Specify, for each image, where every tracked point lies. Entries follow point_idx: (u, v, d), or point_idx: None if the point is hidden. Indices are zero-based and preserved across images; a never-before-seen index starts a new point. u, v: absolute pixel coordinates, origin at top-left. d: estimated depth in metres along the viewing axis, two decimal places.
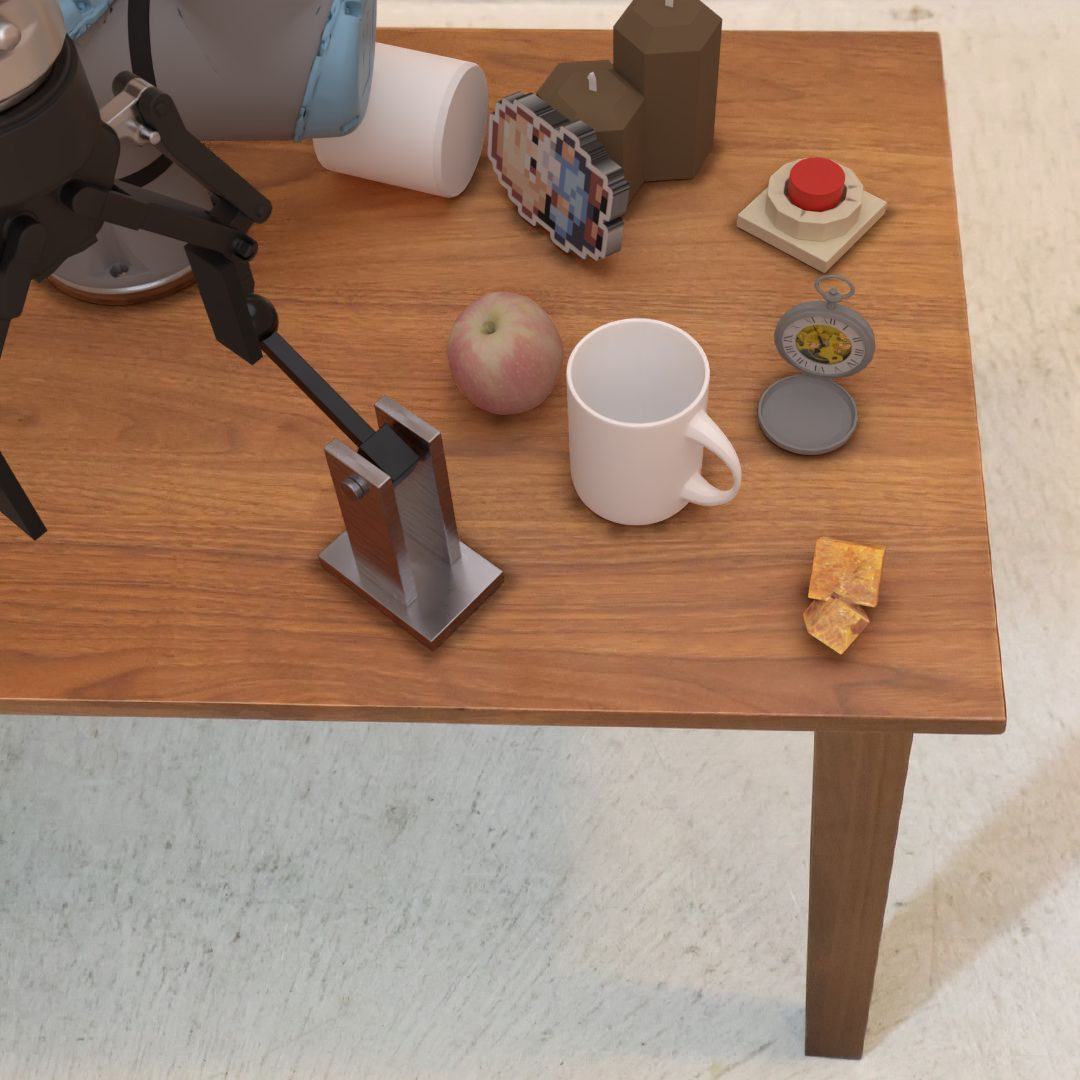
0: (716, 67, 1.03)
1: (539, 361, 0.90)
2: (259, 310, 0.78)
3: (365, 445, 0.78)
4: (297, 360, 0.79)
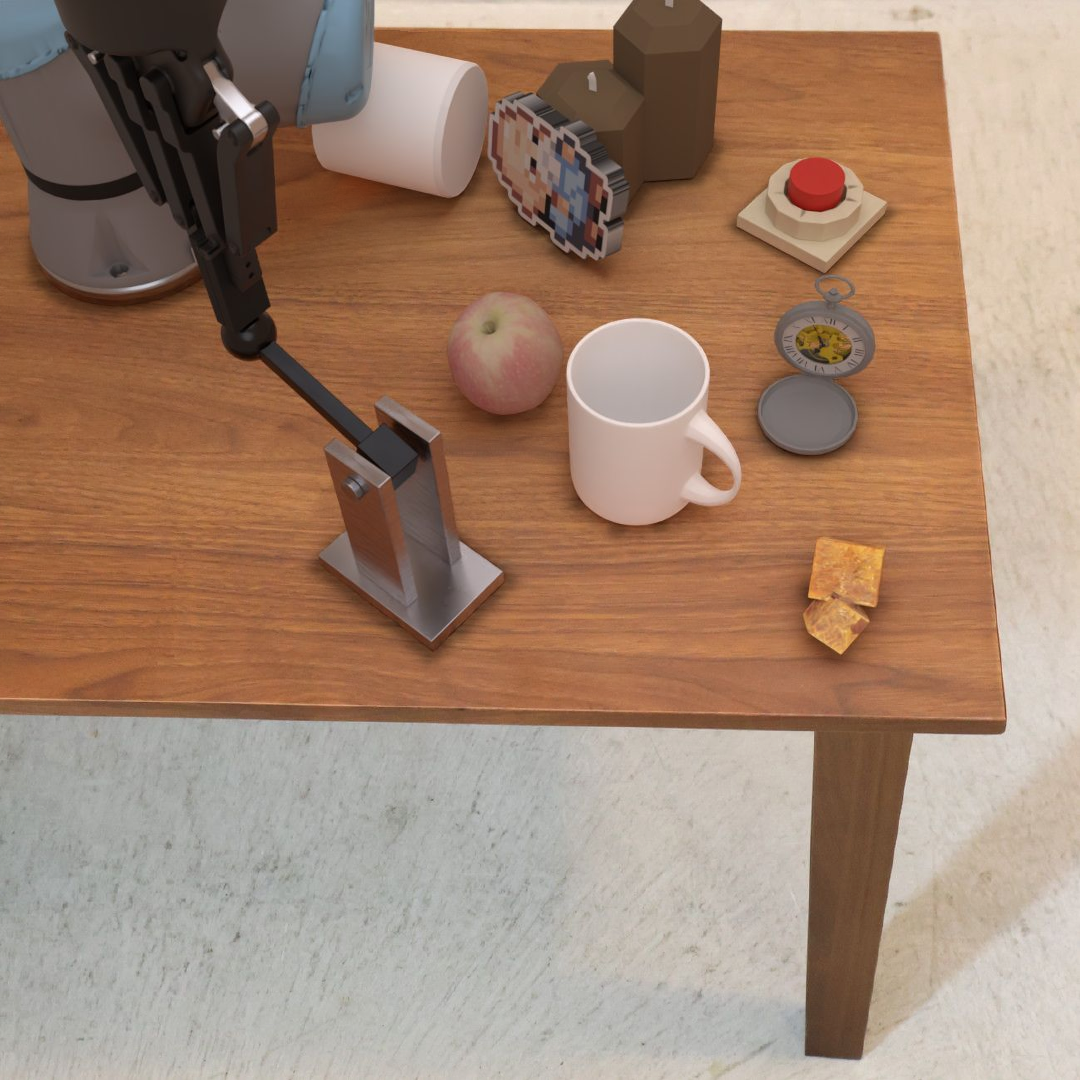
0: (716, 67, 1.03)
1: (539, 361, 0.90)
2: (255, 320, 0.79)
3: (363, 444, 0.78)
4: (295, 367, 0.80)
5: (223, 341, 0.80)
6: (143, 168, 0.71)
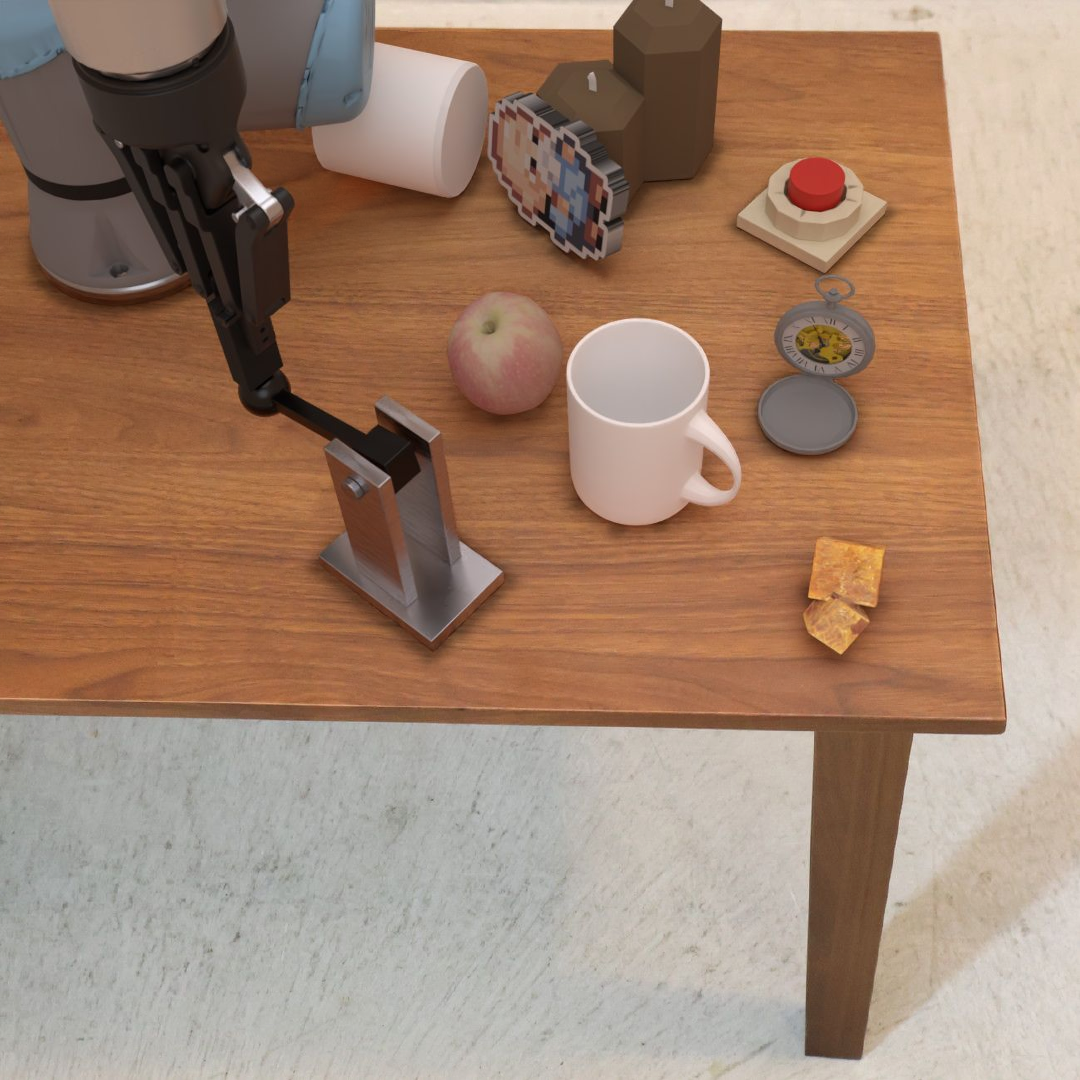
0: (716, 67, 1.03)
1: (539, 361, 0.90)
2: None
3: (356, 445, 0.78)
4: (301, 404, 0.83)
5: (240, 400, 0.84)
6: (165, 241, 0.76)
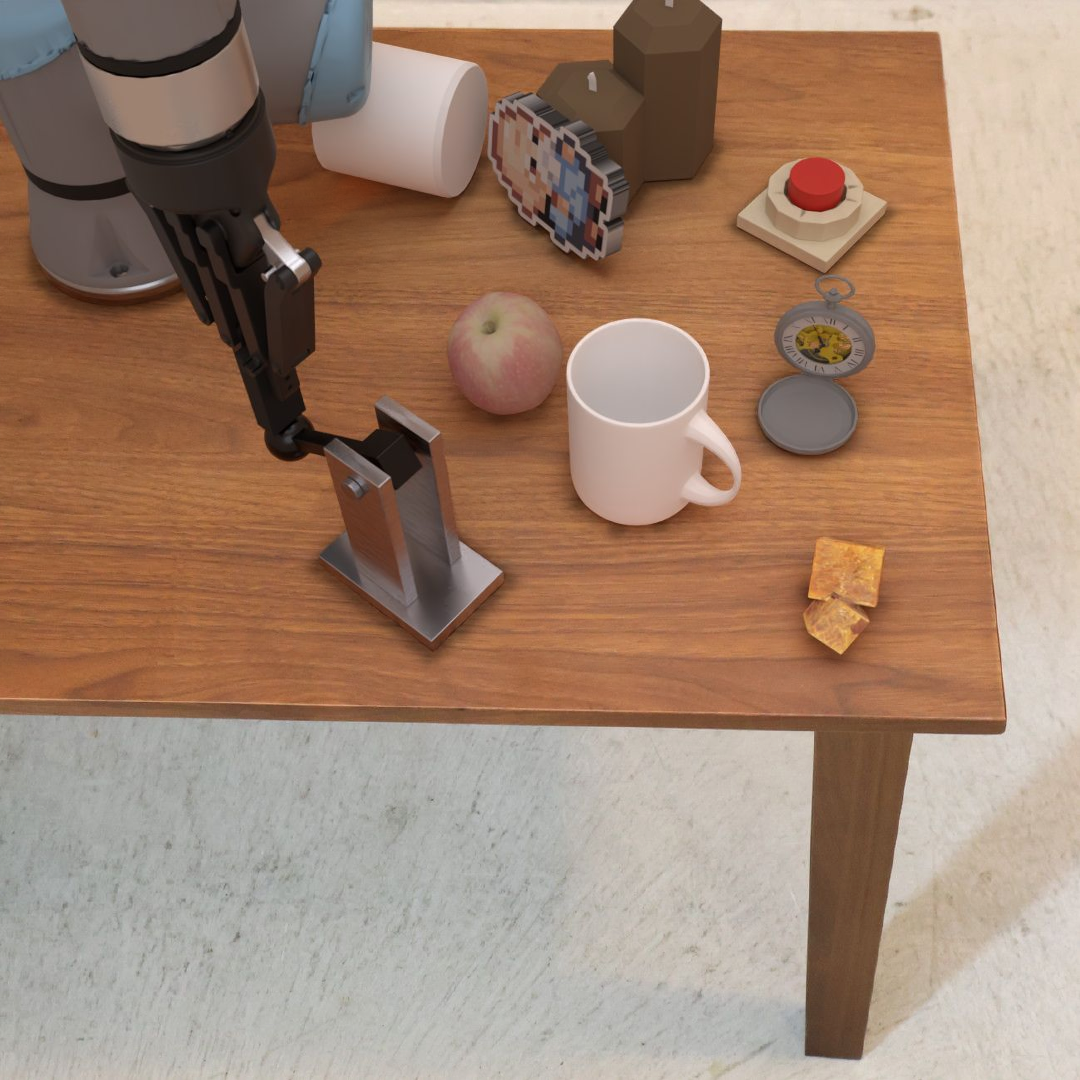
0: (716, 67, 1.03)
1: (539, 361, 0.90)
2: None
3: (355, 448, 0.79)
4: (317, 435, 0.84)
5: (267, 447, 0.87)
6: (194, 294, 0.79)
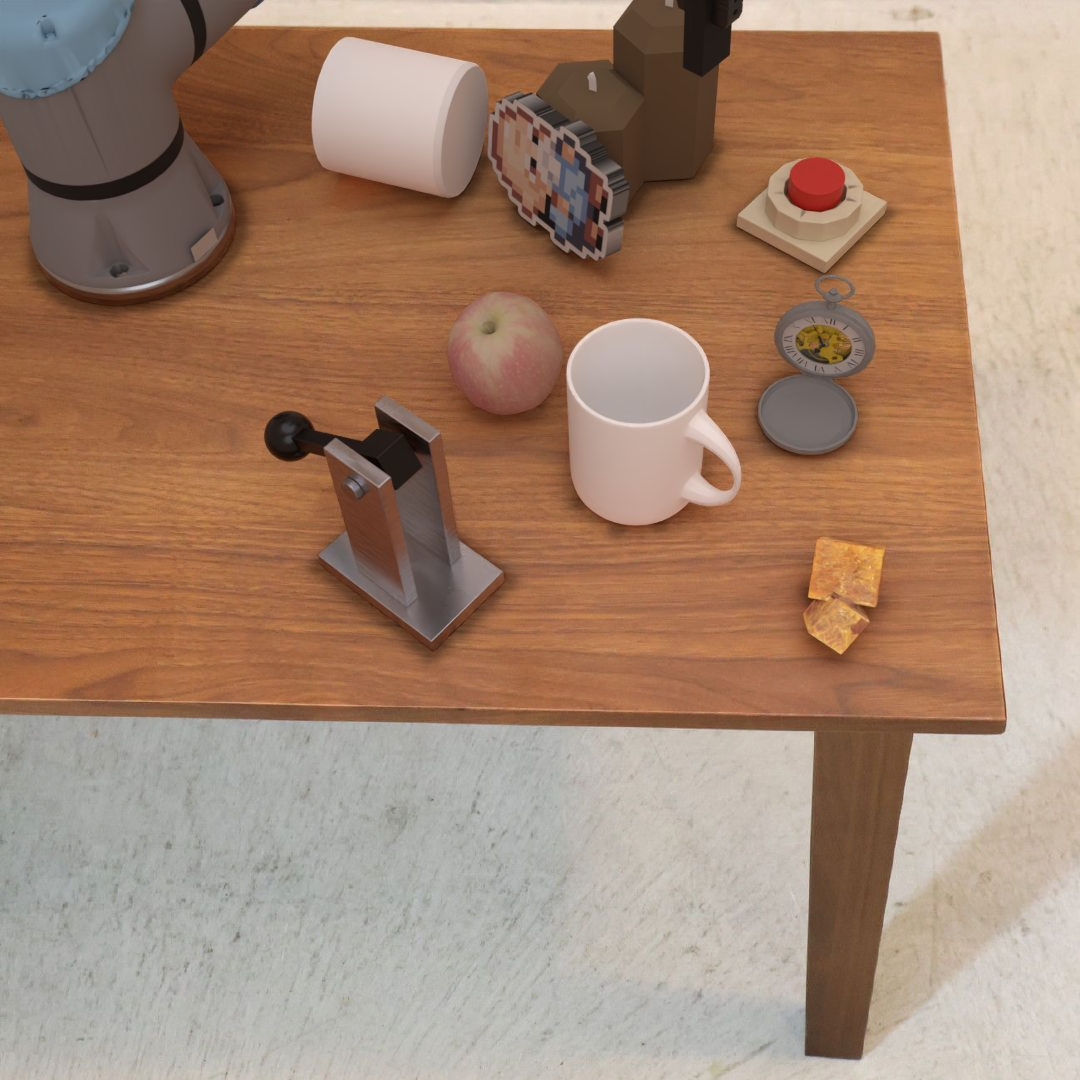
0: (716, 67, 1.03)
1: (539, 361, 0.90)
2: (282, 414, 0.86)
3: (355, 448, 0.79)
4: (317, 435, 0.84)
5: (267, 447, 0.87)
6: None
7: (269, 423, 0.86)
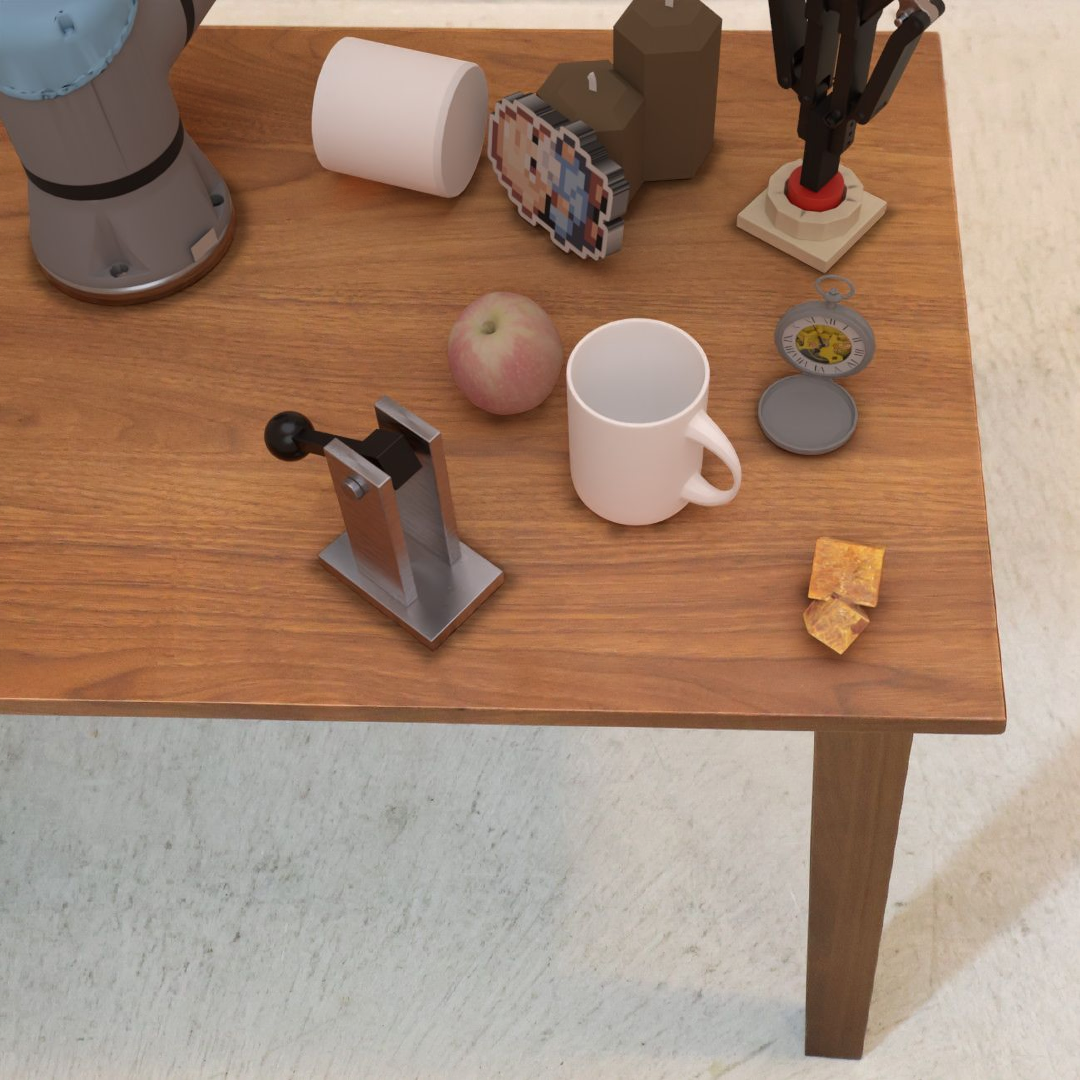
0: (716, 67, 1.03)
1: (539, 361, 0.90)
2: (282, 414, 0.86)
3: (355, 448, 0.79)
4: (317, 435, 0.84)
5: (267, 447, 0.87)
6: (786, 58, 0.94)
7: (269, 423, 0.86)
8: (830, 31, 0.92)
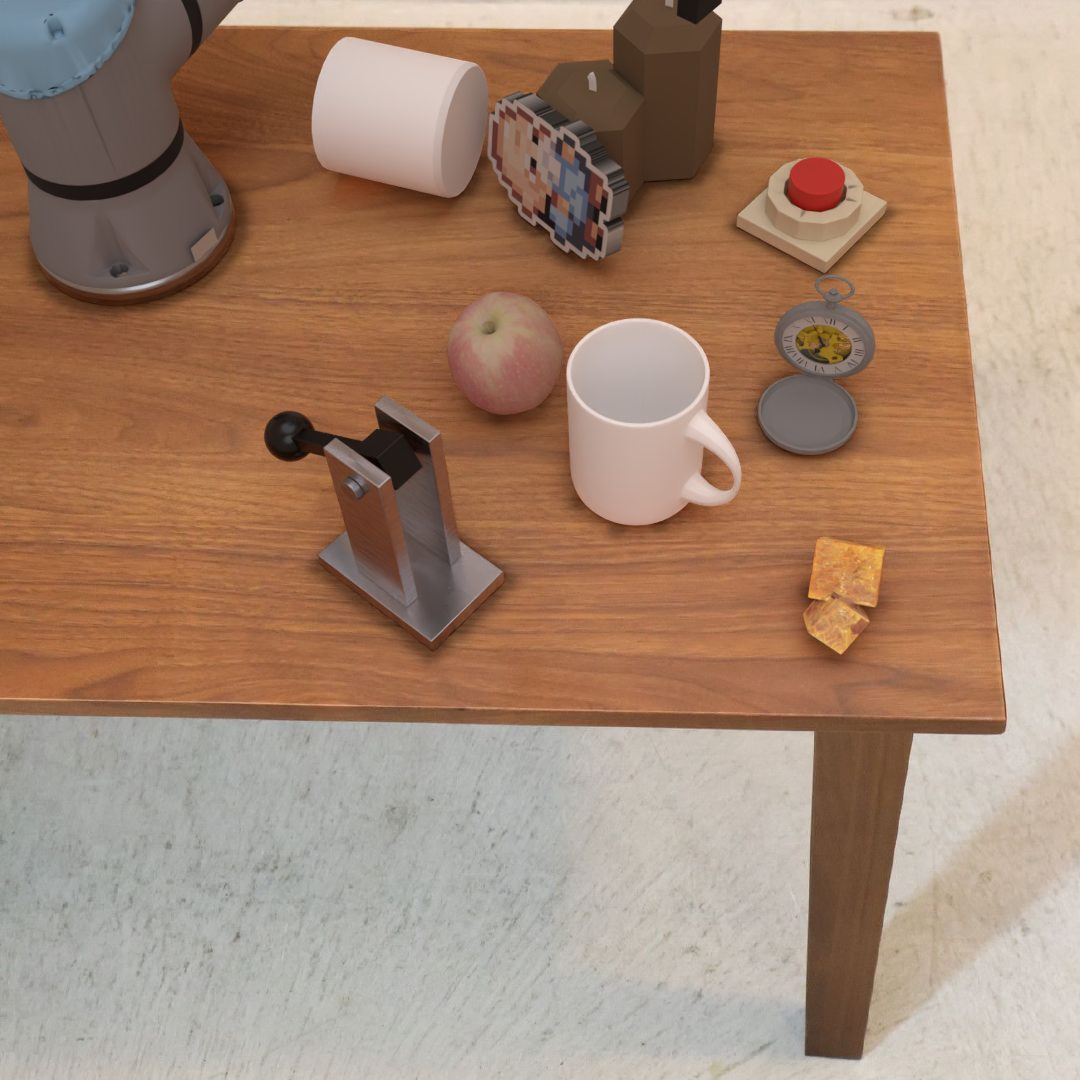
0: (716, 67, 1.03)
1: (539, 361, 0.90)
2: (282, 414, 0.86)
3: (355, 448, 0.79)
4: (317, 435, 0.84)
5: (267, 447, 0.87)
6: None
7: (269, 423, 0.86)
8: None
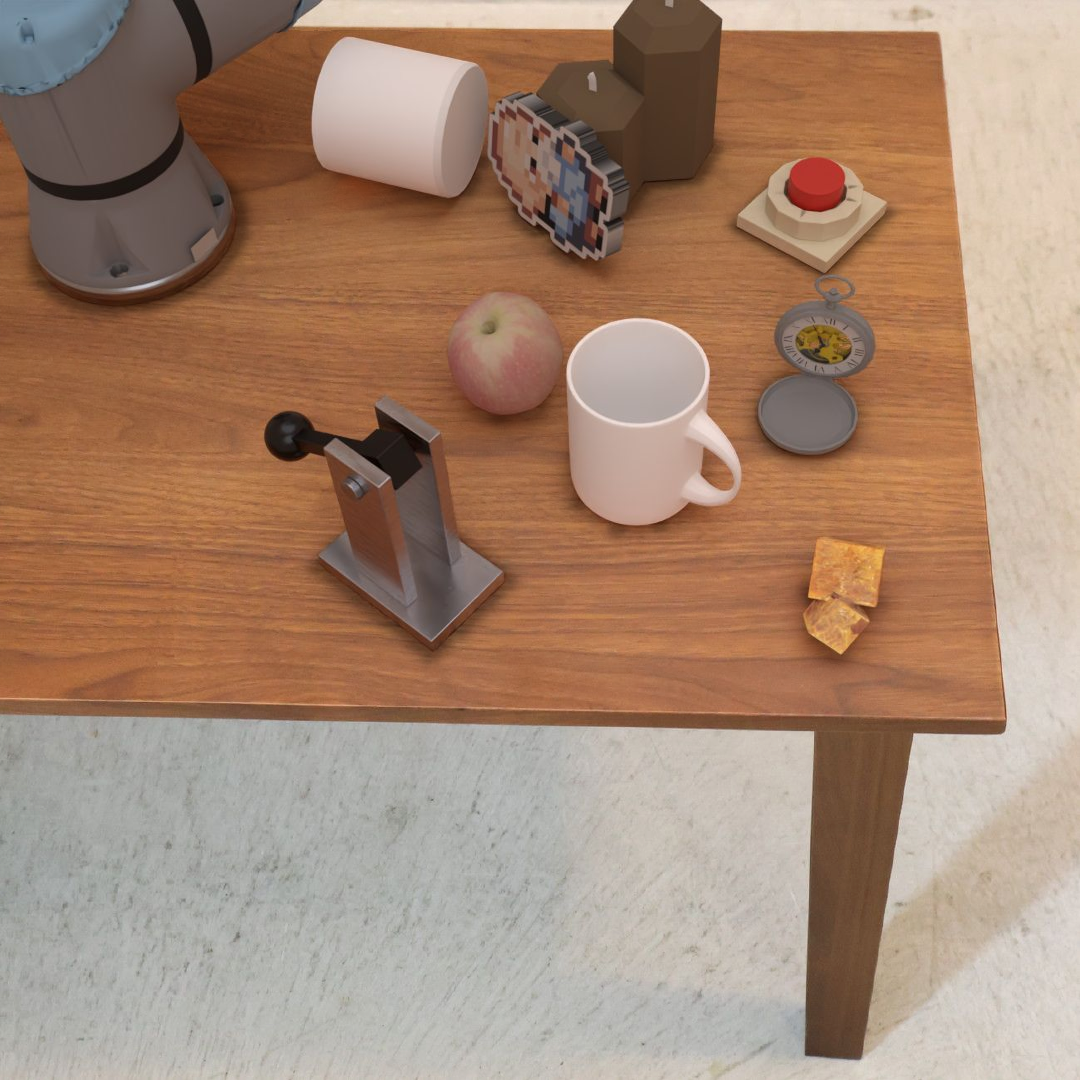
0: (716, 67, 1.03)
1: (539, 361, 0.90)
2: (282, 414, 0.86)
3: (355, 448, 0.79)
4: (317, 435, 0.84)
5: (267, 447, 0.87)
6: None
7: (269, 423, 0.86)
8: None
